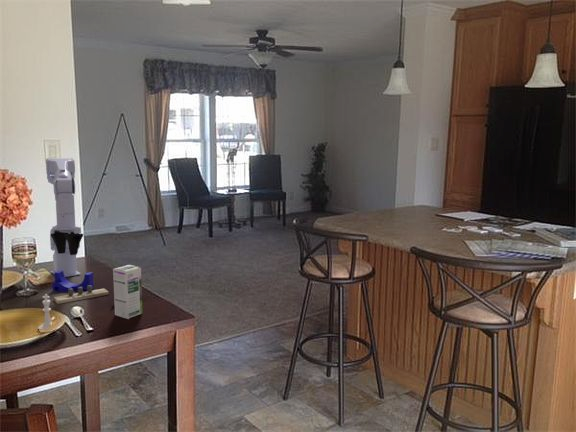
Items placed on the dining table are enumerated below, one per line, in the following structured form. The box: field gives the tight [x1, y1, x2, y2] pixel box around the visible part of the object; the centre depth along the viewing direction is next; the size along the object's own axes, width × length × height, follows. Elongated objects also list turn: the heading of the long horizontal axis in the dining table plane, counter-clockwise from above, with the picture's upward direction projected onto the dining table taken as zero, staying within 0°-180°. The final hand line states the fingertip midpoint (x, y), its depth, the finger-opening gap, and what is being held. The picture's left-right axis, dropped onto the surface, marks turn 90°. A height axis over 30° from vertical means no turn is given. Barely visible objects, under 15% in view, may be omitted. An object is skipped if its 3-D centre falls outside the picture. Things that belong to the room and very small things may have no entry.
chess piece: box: [37, 293, 53, 330], centre depth 140 cm, size 5×5×10 cm
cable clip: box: [51, 270, 95, 293], centre depth 174 cm, size 12×4×6 cm, turn 85°
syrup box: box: [112, 264, 143, 320], centre depth 152 cm, size 6×6×14 cm
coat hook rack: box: [53, 285, 110, 305], centre depth 167 cm, size 4×16×3 cm, turn 130°
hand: (67, 254), depth 174 cm, fingers open, 7 cm apart
